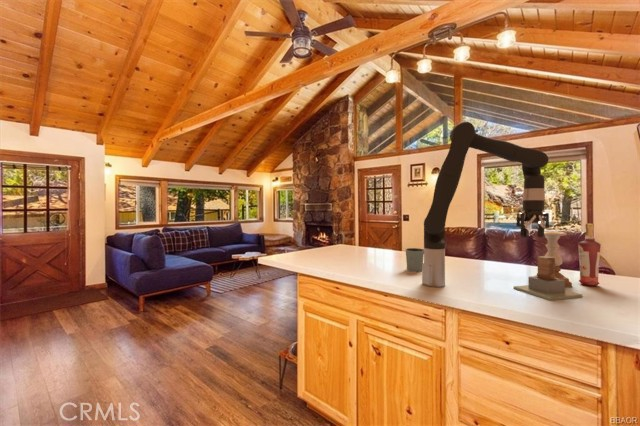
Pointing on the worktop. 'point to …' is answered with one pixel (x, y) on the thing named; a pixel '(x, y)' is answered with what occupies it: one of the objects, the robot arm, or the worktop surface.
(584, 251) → the liquor
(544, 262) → the wooden peg
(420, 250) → the grey-green tapered pot
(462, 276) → the worktop surface
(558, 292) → the box on flat tray
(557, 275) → the candle holder
